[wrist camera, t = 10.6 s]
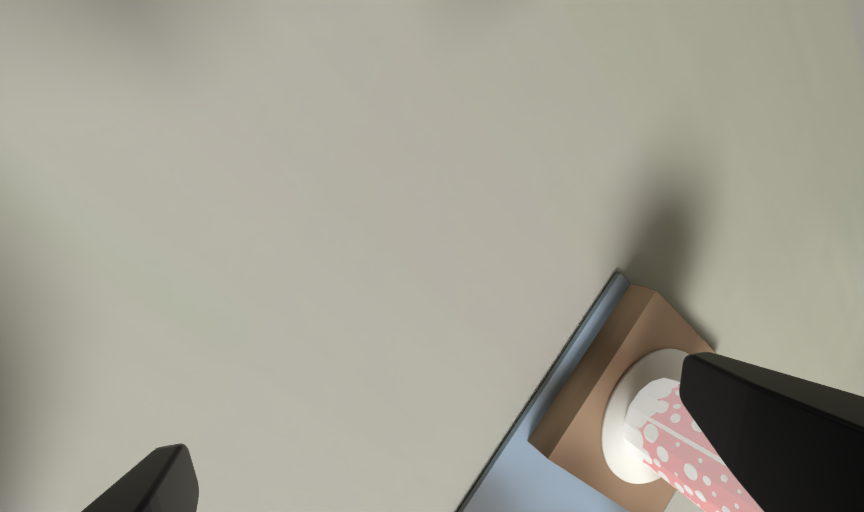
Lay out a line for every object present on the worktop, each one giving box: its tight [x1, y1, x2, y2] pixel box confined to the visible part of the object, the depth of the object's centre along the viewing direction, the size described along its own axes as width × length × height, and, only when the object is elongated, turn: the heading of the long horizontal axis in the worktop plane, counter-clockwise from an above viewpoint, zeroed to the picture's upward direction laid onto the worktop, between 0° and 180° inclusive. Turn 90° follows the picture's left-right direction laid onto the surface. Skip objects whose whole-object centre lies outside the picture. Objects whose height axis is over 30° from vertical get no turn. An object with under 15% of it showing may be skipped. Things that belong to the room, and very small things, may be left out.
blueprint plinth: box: [458, 272, 716, 512], centre depth 27 cm, size 16×14×2 cm
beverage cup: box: [623, 378, 764, 512], centre depth 19 cm, size 6×6×14 cm
